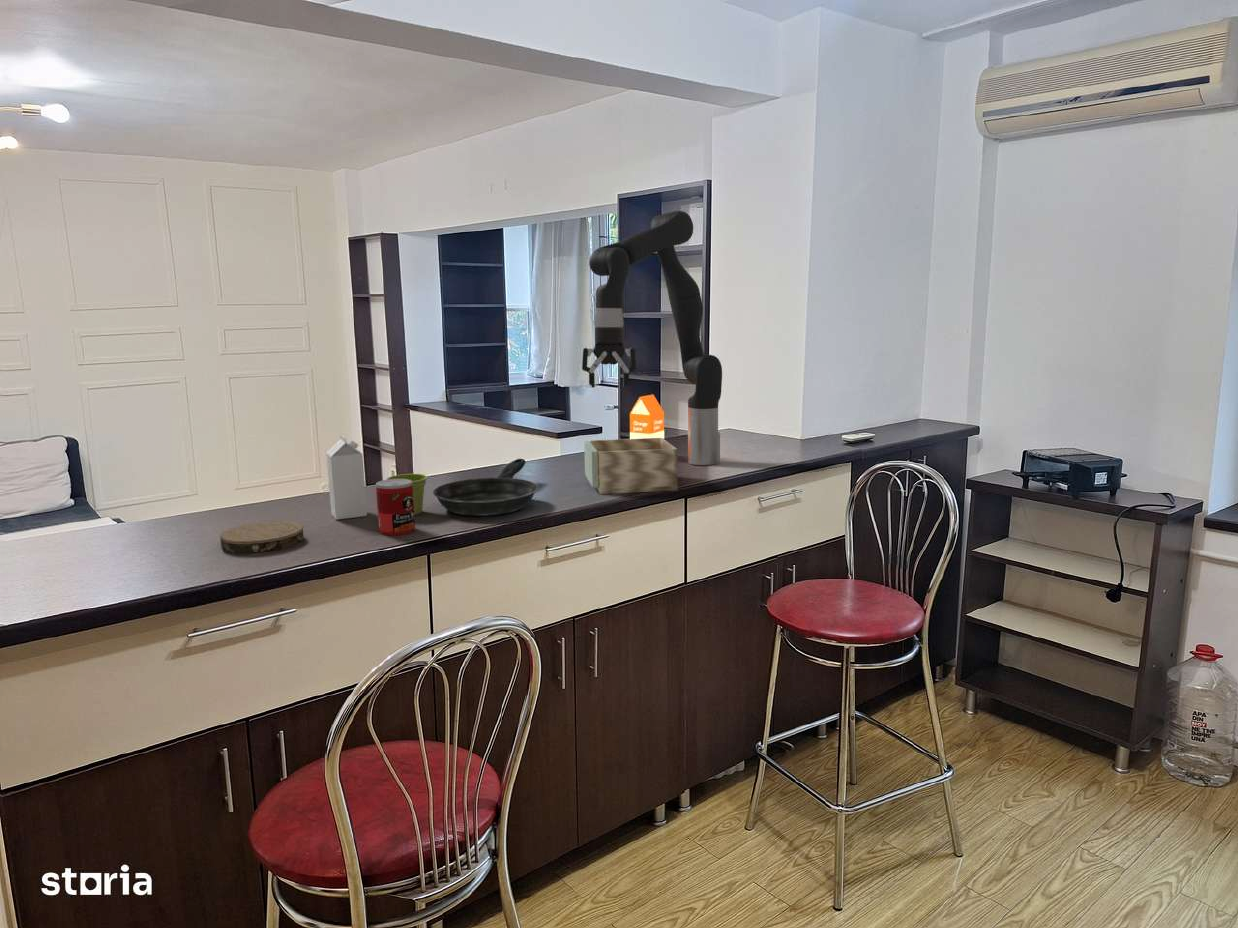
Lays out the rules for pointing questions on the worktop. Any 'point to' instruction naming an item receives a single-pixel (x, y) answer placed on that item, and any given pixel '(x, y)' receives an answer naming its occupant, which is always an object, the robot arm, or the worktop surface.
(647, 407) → the orange juice
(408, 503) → the canned food
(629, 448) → the crate
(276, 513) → the worktop surface
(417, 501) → the plant pot
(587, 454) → the tailgate
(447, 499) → the frying pan
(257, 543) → the brown flat disc
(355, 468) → the milk carton
